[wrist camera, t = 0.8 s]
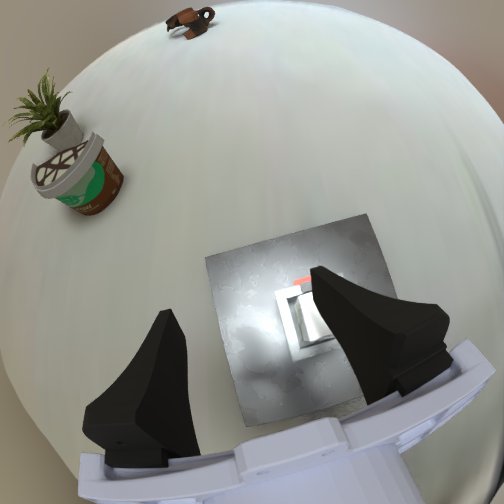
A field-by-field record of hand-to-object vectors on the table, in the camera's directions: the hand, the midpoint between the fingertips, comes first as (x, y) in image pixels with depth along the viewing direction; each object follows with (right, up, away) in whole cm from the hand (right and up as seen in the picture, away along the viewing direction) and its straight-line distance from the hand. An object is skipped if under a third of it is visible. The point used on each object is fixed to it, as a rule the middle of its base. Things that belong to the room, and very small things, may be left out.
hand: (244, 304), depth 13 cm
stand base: (+6, -4, +13) cm, 15 cm away
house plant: (-34, +24, +27) cm, 49 cm away
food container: (-22, +10, +21) cm, 32 cm away
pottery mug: (-14, +56, +35) cm, 67 cm away
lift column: (+6, -4, +11) cm, 14 cm away
